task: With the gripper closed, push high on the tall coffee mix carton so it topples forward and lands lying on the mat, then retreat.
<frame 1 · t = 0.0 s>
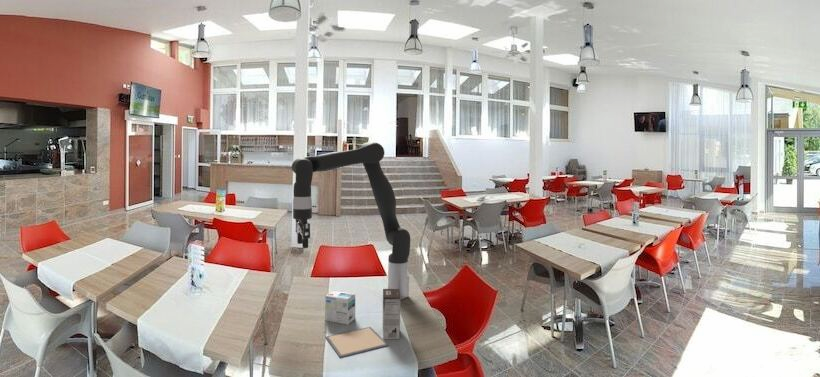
hand: (302, 245, 162), 29 cm above the table, fingers open, 8 cm apart
light bulb box: (340, 320, 160), on the table
mat: (356, 341, 142), on the table
coffee box: (390, 334, 149), on the table
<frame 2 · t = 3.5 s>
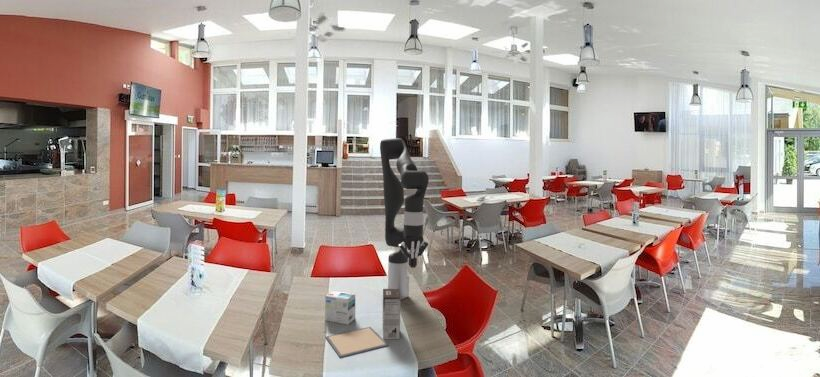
hand: (412, 267, 151), 25 cm above the table, fingers closed
nothing on the table moved.
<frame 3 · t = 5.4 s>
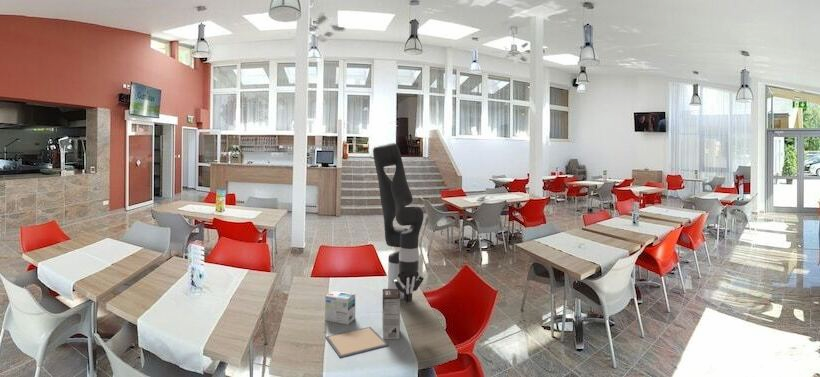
hand: (407, 302, 151), 11 cm above the table, fingers closed
coffee box: (390, 334, 149), on the table, touching hand
everything else where it was.
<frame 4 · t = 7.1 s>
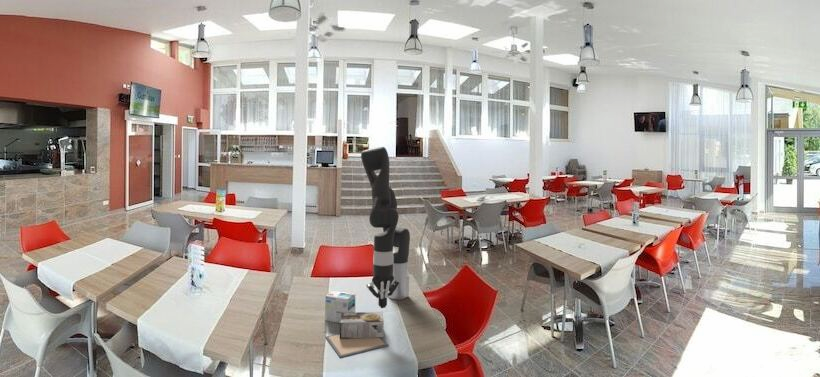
hand: (382, 307, 146), 11 cm above the table, fingers closed
coffee box: (383, 324, 148), point 4 cm above the table, touching mat
everything else where it was.
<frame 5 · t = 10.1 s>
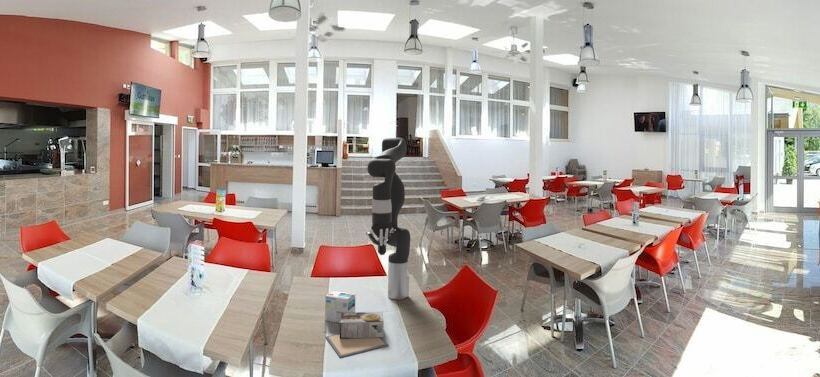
hand: (381, 254, 153), 29 cm above the table, fingers closed
nothing on the table moved.
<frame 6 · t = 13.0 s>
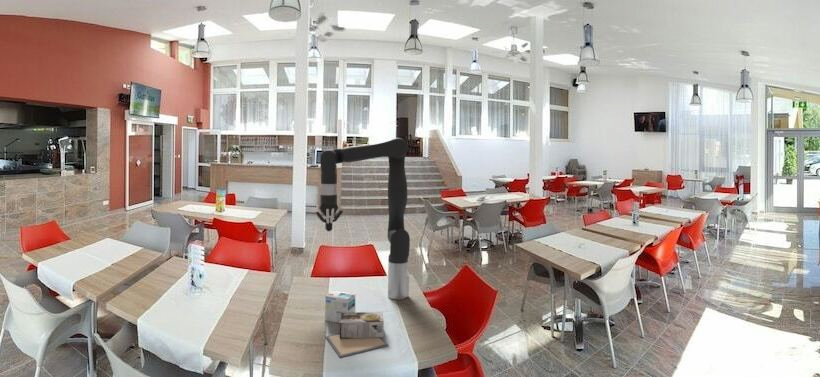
hand: (328, 230, 180), 32 cm above the table, fingers closed
nothing on the table moved.
at the end: coffee box tilted 90°; coffee box inside the target area (8.6 cm from its centre), point 3.7 cm above the table; the gripper is holding nothing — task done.
